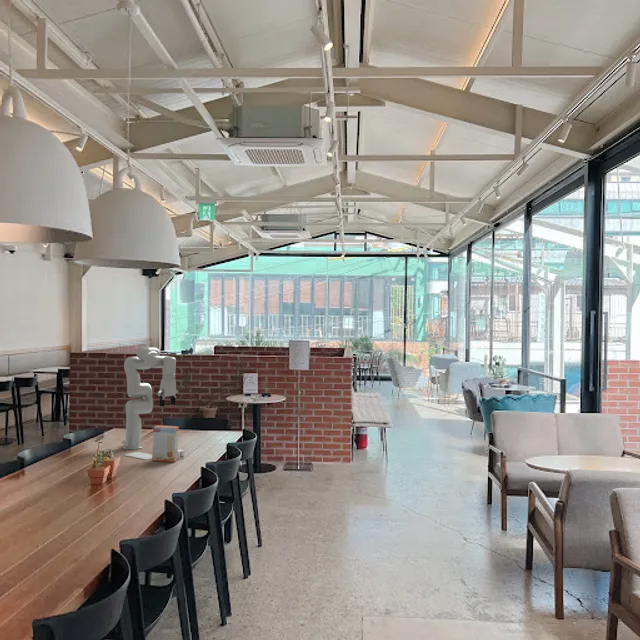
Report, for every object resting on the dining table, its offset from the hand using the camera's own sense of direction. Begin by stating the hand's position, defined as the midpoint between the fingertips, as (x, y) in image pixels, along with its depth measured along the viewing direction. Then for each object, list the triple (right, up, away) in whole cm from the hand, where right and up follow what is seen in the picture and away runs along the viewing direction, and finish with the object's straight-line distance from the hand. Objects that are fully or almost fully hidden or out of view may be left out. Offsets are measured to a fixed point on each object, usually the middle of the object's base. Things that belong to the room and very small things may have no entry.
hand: (167, 405), depth 360 cm
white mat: (-18, -33, +8) cm, 38 cm away
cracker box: (-2, -34, 0) cm, 34 cm away
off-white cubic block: (+5, -34, +8) cm, 35 cm away
